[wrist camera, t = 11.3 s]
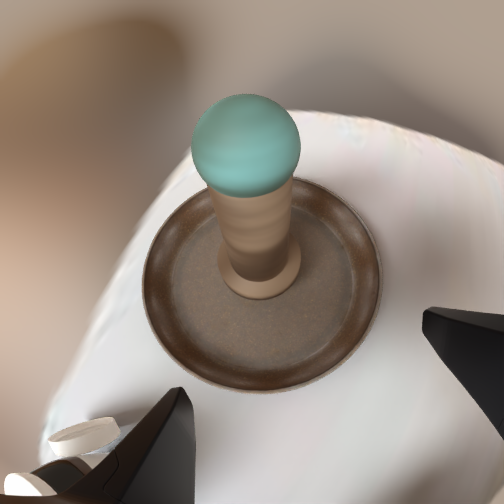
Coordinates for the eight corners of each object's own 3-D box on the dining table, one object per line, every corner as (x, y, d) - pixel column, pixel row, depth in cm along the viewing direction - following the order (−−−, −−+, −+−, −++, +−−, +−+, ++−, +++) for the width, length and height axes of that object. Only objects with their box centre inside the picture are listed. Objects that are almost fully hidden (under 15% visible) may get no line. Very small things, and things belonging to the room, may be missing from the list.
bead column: (316, 264, 21) (351, 103, 9) (255, 317, 20) (223, 175, 7) (262, 217, 24) (249, 64, 12) (204, 260, 22) (140, 112, 10)
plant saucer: (412, 314, 21) (428, 301, 18) (206, 432, 18) (194, 437, 15) (297, 171, 31) (298, 150, 29) (136, 245, 28) (122, 228, 26)
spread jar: (124, 537, 11) (51, 572, 1) (55, 455, 16) (-29, 450, 6) (197, 488, 15) (128, 542, 5) (111, 396, 20) (14, 375, 10)
